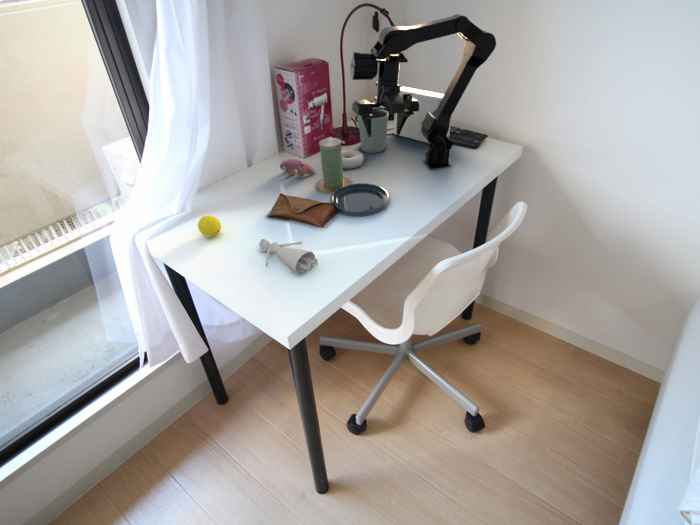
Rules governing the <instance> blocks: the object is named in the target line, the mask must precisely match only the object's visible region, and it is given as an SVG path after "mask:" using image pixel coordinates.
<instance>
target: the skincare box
mask: <svg viewBox="0 0 700 525" xmlns="http://www.w3.org/2000/svg"><path fill="white" fill-rule="evenodd" d="M400 93H401V94H408V93H411V95H412V98H414V99H416V100H418V102H419V104H420V107H419V111H416V112H415V113H414V114H412V115H410V116H409V117H408V118H407V120H406V122H405V124H404V126H403V128H402V130H401V132H400V135H399V136H400V137H403V138H407V139H412V140H415V141H419V142H423V143H426V144H430V143H429V142H428V141H427V139H426V138H425V137H424V136H423V134H422V132H421V127H422V124H421V123H422V122H423V121H424V119H425V116H426V114H427V112H429V113H431V114H432V113H433V112H434V111H435V110H436V109H437V108H438V106H439V104H440V102H441V100H442V98H443V96H444V94H445V93H440V92H435V91H430V90H423V89H418V88H413V87H408V86H407V87H406V86H400ZM452 115H453V114H452ZM452 115H451V118H450V125H449V130H448V132H447V135H446V136H447V137H449V136H450V135H451V126H452V125H451V124H452ZM393 118H394V120H393V135H395V136H398V135H397V129H396V128H397V113H396V114H393ZM450 137H451V136H450ZM450 137H449V138H450Z"/></svg>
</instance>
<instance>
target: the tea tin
mask: <svg viewBox="0 0 700 525" xmlns="http://www.w3.org/2000/svg"><path fill="white" fill-rule="evenodd" d="M318 145H319V152H320V160H321V170H322V179H323V181H324V186H325V187H327V188H339V187H341V186H343V184H344V178H345V177H344V169H343V164H342V151H343V150H342V140H341V139H340V138H337V137H325V138H322V139H320V140H319V142H318ZM343 177H344V178H343Z"/></svg>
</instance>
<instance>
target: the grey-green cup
mask: <svg viewBox="0 0 700 525" xmlns="http://www.w3.org/2000/svg"><path fill="white" fill-rule="evenodd" d="M371 115H373V117H372V120H371V137H370V138H369V137H368V134H367V131H366V128H365V125H364V122H363V120H362V118H361V116H360V115H358V114H357V120H358V129H359V140H360V149H361V151H363V152H365V153H369V154H374V153H380V152H383V151H384V150H386V146H387V135H388V123H389V115H390V114H389V113H388V112H387V110H386V109H382V110H372V113H371Z"/></svg>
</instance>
